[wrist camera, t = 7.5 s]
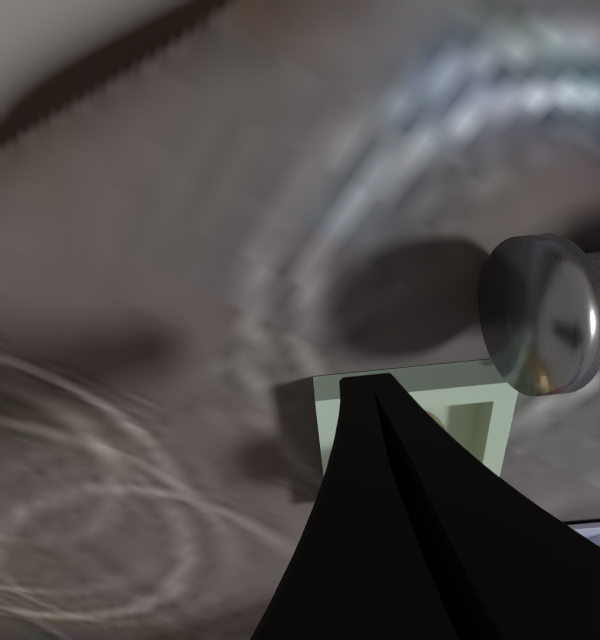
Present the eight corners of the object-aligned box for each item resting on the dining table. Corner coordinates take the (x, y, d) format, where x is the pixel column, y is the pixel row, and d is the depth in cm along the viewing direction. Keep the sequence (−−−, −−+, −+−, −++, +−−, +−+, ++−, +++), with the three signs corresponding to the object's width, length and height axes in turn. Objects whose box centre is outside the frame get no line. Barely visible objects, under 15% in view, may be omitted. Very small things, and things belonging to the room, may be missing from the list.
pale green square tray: (477, 483, 22) (491, 511, 20) (326, 497, 22) (329, 525, 20) (499, 358, 17) (520, 381, 16) (313, 376, 18) (315, 401, 16)
